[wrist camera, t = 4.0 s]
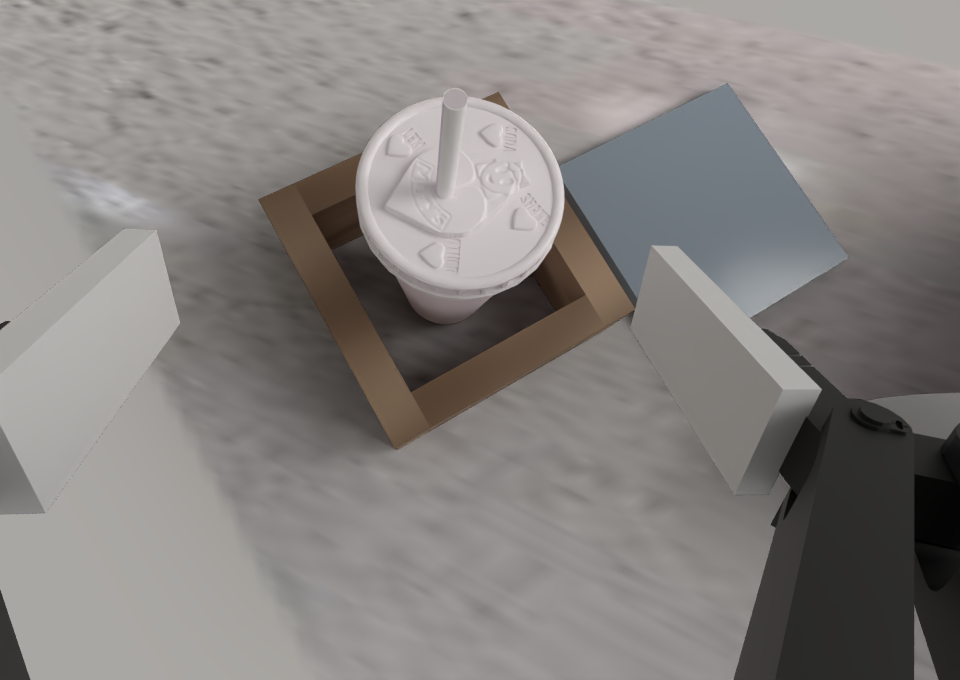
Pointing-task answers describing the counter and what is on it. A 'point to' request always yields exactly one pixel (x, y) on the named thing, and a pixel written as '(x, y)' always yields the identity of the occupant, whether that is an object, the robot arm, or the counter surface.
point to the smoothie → (458, 202)
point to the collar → (408, 415)
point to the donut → (926, 412)
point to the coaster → (702, 203)
